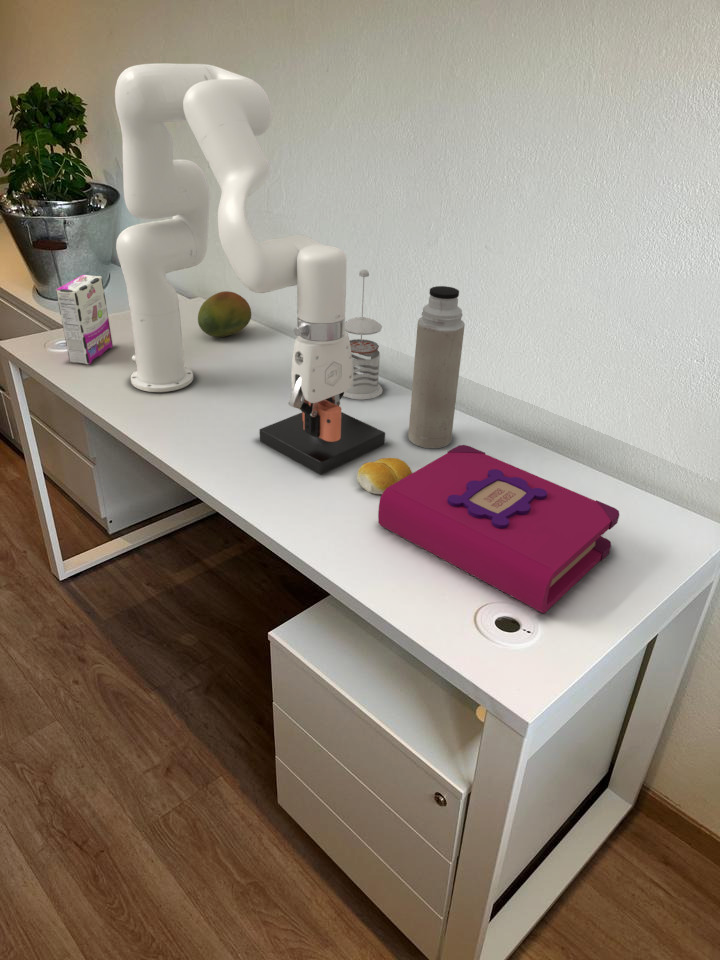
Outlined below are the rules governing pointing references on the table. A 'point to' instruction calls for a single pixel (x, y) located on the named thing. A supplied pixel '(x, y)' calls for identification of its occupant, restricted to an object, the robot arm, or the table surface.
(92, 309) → the candy bar box
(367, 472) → the bread roll
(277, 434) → the hot plate
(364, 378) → the french press
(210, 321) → the fruit
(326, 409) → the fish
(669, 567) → the table surface
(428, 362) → the thermos bottle
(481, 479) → the book
